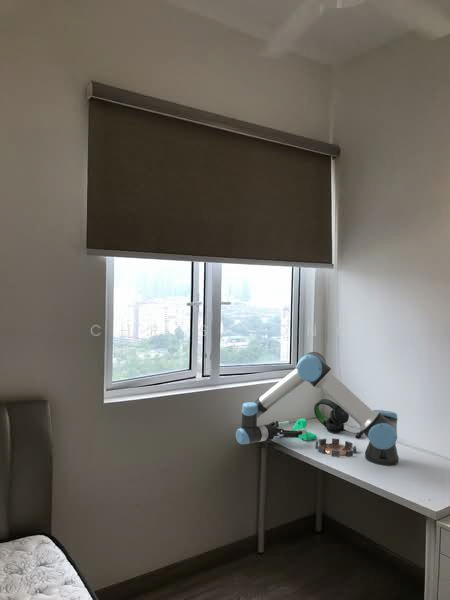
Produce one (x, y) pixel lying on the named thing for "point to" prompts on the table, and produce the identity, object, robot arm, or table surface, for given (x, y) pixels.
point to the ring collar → (335, 448)
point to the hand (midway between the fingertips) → (296, 427)
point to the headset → (333, 417)
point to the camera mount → (302, 425)
